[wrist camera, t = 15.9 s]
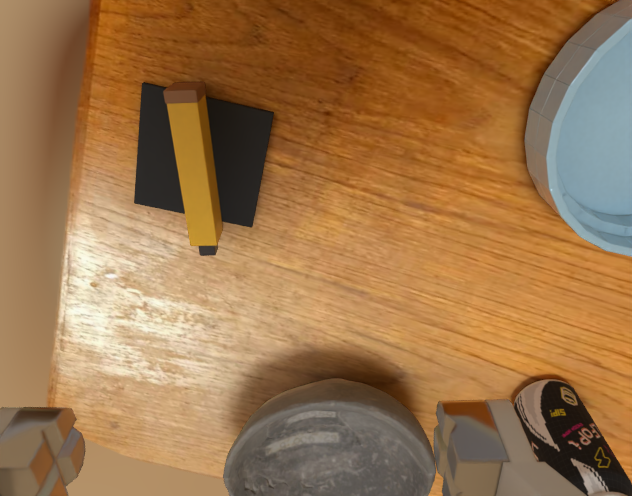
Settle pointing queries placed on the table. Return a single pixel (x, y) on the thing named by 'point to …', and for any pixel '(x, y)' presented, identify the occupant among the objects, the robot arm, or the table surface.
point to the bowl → (331, 445)
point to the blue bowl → (588, 131)
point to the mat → (228, 151)
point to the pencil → (195, 163)
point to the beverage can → (569, 439)
